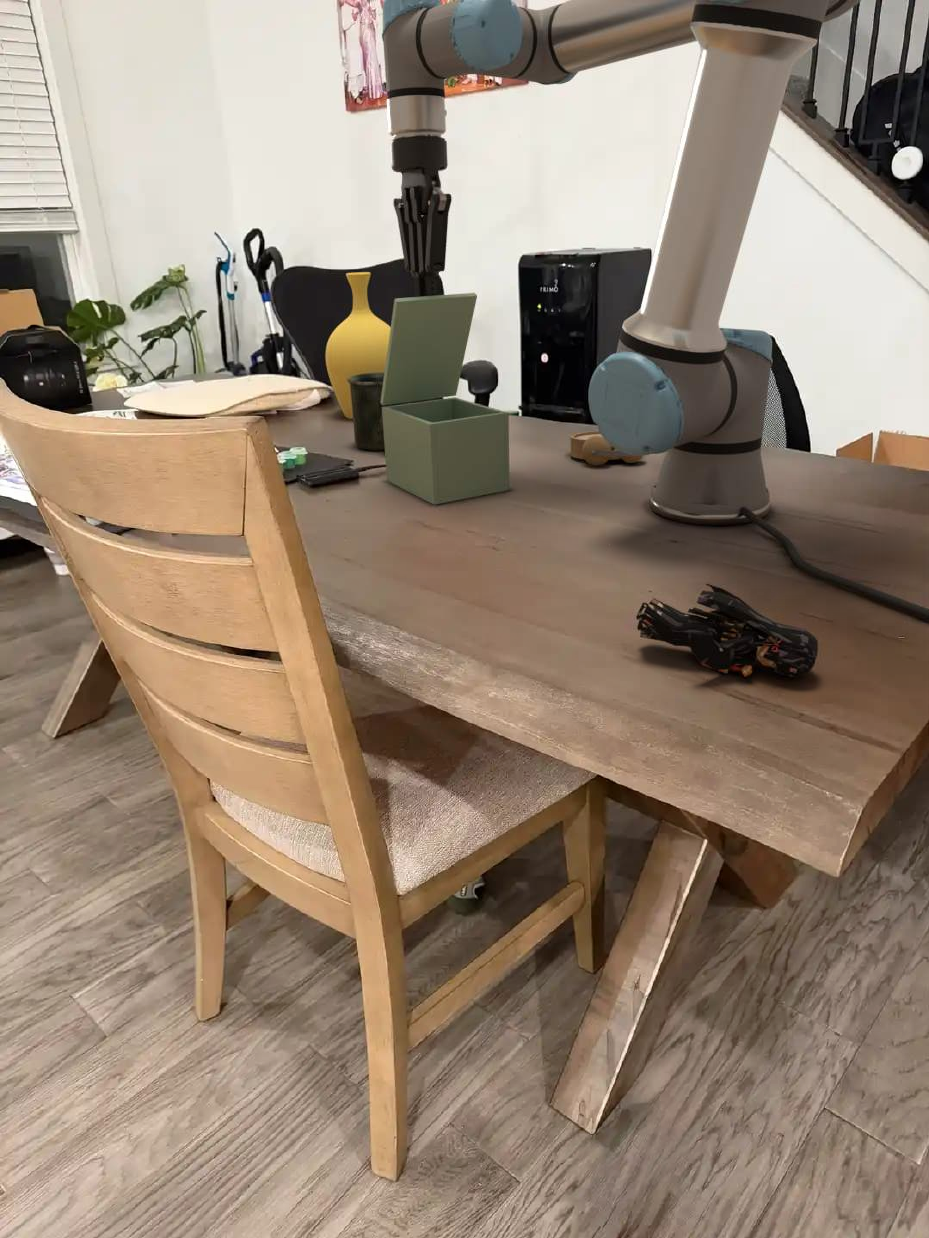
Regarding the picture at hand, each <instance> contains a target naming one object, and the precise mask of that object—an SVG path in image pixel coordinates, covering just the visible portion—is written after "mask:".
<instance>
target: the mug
mask: <svg viewBox="0 0 929 1238" xmlns="http://www.w3.org/2000/svg"><path fill="white" fill-rule="evenodd" d="M384 373H385V372H379V373H366V374H359V375H354V376H351V377H349V378H348V379H347V381H348V383H350V390H351V401H352V412H353V419H352V421H353V432H354V433H353V435H354V444H355V445H356V447H357V448H359V449H361V450H365V451H385V444H384V431H383V417H382V407H388V406H395V405H403V404H409V402H404V403H397V404H390V405H382V404H381V395H382V387H383V380H384Z"/></svg>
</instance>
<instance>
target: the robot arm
mask: <svg viewBox="0 0 929 1238" xmlns="http://www.w3.org/2000/svg"><path fill="white" fill-rule="evenodd" d="M860 2H862V0H566V1H564V2H562V3H559V4H555V5H553V6H549V7H546V8H543V9H532V8H527V7H522V6H517V4H516V3H515V2H514V1H513V0H451V1H448V2H445V3H442V1H441V0H383V2H382V33H381V39H382V42H383V43H382V44H383V56H384V68H385V69H384V70H385V72H384V73H385V84H386V85H385V86H386V93H387V94H386V99H387V100H386V106H387V107H386V108H387V123H388V126H387V127H388V134H389V135H390V136H392V137H393V139H392V140H391V141H390V142H389V149H390V166H391V169H392V171H393V172H395V173H400V174H401V185H400V191H401V195H400V197H399V198H397V197H396V198H394V199H393V202H392V205H393V209H394V211H395V214H396V217H397V223H398V230H399V236H400V242H401V250H402V255H403V261H404V268H405V271H406V272H410V274H411V276H412V277H413V278H414V279H413V280H414V297H424V296H437V295H438V290H437V289H438V288H437V287H438V286H437V285H438V284H437V277H439V274H440V272H445V269H446V258H447V240H448V238H447V237H448V225H449V213H450V209H451V204H452V201H453V198H452V195H451V194H450V193H444V192H443V191H442V182H441V178H440V173H439V172H441V171H442V172H443V171H445V170H446V169H447V168H448V165H449V163H448V142H447V140H446V138H445V137H442V135H444V134H445V133H446V132H447V124H446V123H447V122H446V117H447V113H448V111H447V109H446V102H445V101H446V100H445V98H446V92H445V91H446V89H445V80H447V79H451V78H455V77H461V76H466V75H477V76H486V77H492V78H493V77H494V78H500V79H510V80H517V81H525V82H531V83H537V84H539V85H543V86H550V85H562V84H563V85H564V84H566V83H569V82H570V81H571V80H573V79H574V77H576V75H577V74H578V73H579V72H582V71H587V70H591V69H594V68H595V69H596V68H598V67H603V66H607V65H610V64H614V63H617V62H622V61H626V60H629V59H634V58H637V57H641V56H645V55H650V54H653V53H656V52H657V53H658V52H660V51H663V50H668V49H672V48H676V47H681V46H683V45H686V44H687V45H688V44H691V43H695V42H698V45H699V49H700V53H699V54H700V55H699V58H698V62H697V66H696V70H695V75H694V79H693V83H692V88H691V92H690V96H689V101H688V105H687V108H686V109H687V110H686V114H685V117H684V122H683V126H682V131H681V134H680V139H679V143H678V147H677V152H676V156H675V159H674V160H675V161H674V164H673V169H672V173H671V178H670V182H669V186H668V189H667V190H668V191H667V194H666V198H665V203H664V206H663V212H662V214H661V215H662V216H661V220H660V225H659V228H658V233H657V237H656V242H655V245H654V249H653V254H652V258H651V263H650V267H649V271H648V275H647V280H646V285H645V289H644V293H643V297H642V301H641V305H640V308H639V310H638V311H636V312H635V313H634V314H632V315H631V316H630V317H628V318H627V319H624V321H623V323H622V326H621V330H620V335H619V339H618V344H617V348H616V353H612V354H610V355H609V356H608V357H607V358H606V359H604V360H603V362H600V364H598V366H597V367H596V368H595V369H594V372H593V373H592V376H591V379H590V381H589V387H588V407H589V412H590V415H591V419H592V421H593V423H594V424H596V426H597V428H598V431H599V432H600V434H601V435H602V437H603V438H604V439H605V440H606V441H607V442H608V443H609V444H610V445H611V446H613V447H614V448H616V449H617V450H619V451H621V452H623V453H626V454H629V455H634V456H642V457H643V456H649V455H659V454H663V453H665V456H664V459H663V461H662V464H661V468H660V470H659V473H658V477H657V481H656V482H655V483H654V484H653V486H652V488H651V494H650V504H649V506H650V508H651V510H652V511H653V512H654V513H656V514H657V515H659V516H661V517H663V518H666V519H670V520H673V521H677V522H682V523H687V524H695V525H705V526H729V525H740V524H747V523H751V522H752V523H753V524H755V525H757V526H758V527H759V528H761V529H762V530H763V531H765V532H766V533H768V534H769V535H770V536H772V537H773V538H774V539H776V540H777V541H778V542H780V543H781V544H782V545H783V546H784V547H785V549H786V550H787V552H788V554H789V557H790V559H791V560H792V561H793V563H794V564H795V565H796V566H798V567H799V568H800V569H801V570H803V571H804V572H806V573H807V574H810V575H812V576H814V577H816V578H818V579H821V580H823V581H825V582H829V583H831V584H834V585H836V586H840V587H843V588H845V589H848V590H851V591H853V592H856V593H859V594H860V595H864V596H866V597H869V598H871V599H874V600H876V601H879V602H882V603H884V604H886V605H889V606H892V607H895V608H897V609H900V610H903V611H906V612H907V613H911V614H913V615H916V616H918V617H921V618H924V619H926V620H929V608H927V607H924V606H922V605H919V604H917V603H913V602H911V601H908V600H905V599H902V598H900V597H899V596H895V595H892V594H889V593H887V592H884V591H881V590H879V589H876V588H874V587H871V586H868V585H866V584H863V583H860V582H858V581H855V580H853V579H849V578H846V577H844V576H841V575H838V574H835V573H832V572H829V571H826V570H824V569H822V568H820V567H817V566H815V565H813V564H811V563H810V562H808V561H807V560H805V559H804V558H803V557H802V556H801V555H800V553H799V551H798V549H797V547H796V545H795V544H794V543H793V542H792V541H791V539H790V538H789V537H788V536H786V535H785V534H784V533H783V532H781V531H780V530H779V529H777V528H776V527H774V526H773V525H771V524H770V523H769V522H768V521H765V520H764V519H763V518H765V517H766V516H767V515H768V514H769V511H770V504H771V503H770V501H771V500H770V498H771V497H770V492H769V488H768V487H767V484H766V477H765V470H764V464H763V460H762V454H761V453H762V440H763V433H764V425H765V417H766V410H767V409H766V408H767V402H768V401H767V400H768V392H769V385H770V376H771V369H772V366H773V361H774V360H773V358H772V353H773V352H772V351H773V339H772V337H771V335H770V334H769V332H767V331H765V330H757V329H744V328H732V327H731V328H729V327H720V324H719V322H720V319H721V315H722V312H723V308H724V305H725V302H726V298H727V296H728V291H729V288H730V284H731V281H732V278H733V274H734V272H735V271H734V270H735V267H736V264H737V261H738V256H739V253H740V249H741V246H742V243H743V239H744V236H745V232H746V229H747V226H748V222H749V218H750V215H751V211H752V209H753V205H754V202H755V198H756V194H757V190H758V187H759V185H760V180H761V177H762V174H763V171H764V167H765V163H766V159H767V156H768V153H769V149H770V146H771V143H772V140H773V136H774V133H775V129H776V125H777V121H778V118H779V115H780V111H781V107H782V104H783V101H784V98H785V94H786V92H787V91H786V90H787V87H788V84H789V81H790V77H791V73H792V70H793V66H794V65H795V63H796V62H797V61H798V60H799V59H800V58H802V56H804V55H805V54H806V53H807V52H809V51H810V50H812V49H813V48H814V47H815V46H817V43H818V40H819V37H820V34H821V30H822V27H823V24H824V23H827V22H830V21H832V20H834V19H837V18H840V17H841V16H843V15H844V14H846V13H847V12H849V11H850V10H851V9H853V8H854V7H855V6H856V5H858V4H859V3H860Z"/></svg>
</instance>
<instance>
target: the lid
mask: <svg viewBox="0 0 929 1238" xmlns="http://www.w3.org/2000/svg"><path fill="white" fill-rule="evenodd" d="M477 299H478V295H477V293H476V292H466V293H453V294H437V296H424V297H415V296H413V297H412V296H411V297H398V298H394V300H393V306H392V307H393V308H392V315H391V321H390V322H391V324H390V327H391V329H390V336H389V344H388V351H387V358H386V366H385V373H384V380H383V387H382V395H381V404H382V405H390V404H397V403H404V402H408V403H413V402H420V401H425V400H426V401H428V400H435V399H443V398H450V397H454V396H455V397H456V396H457V393H458V388H459V383H460V379H461V375H462V369H463V364H464V360H465V356H466V349H467V345H468V341H469V336H470V332H471V326H472V322H473V317H474V313H475V308H476V304H477Z"/></svg>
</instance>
